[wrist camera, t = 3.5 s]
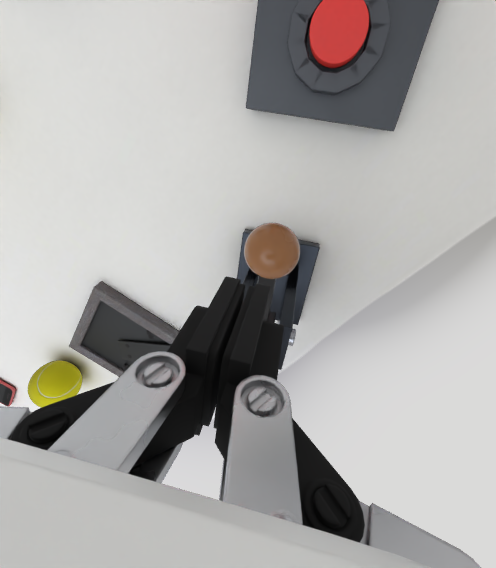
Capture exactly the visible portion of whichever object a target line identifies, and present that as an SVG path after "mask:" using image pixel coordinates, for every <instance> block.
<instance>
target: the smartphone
mask: <svg viewBox="0 0 496 568" xmlns="http://www.w3.org/2000/svg"><path fill="white" fill-rule="evenodd" d="M15 391H16V390H15V388H14V387H12V386H11V385H9V384H7V383H5V382H4V381H2V380H0V403H2V404H4V405H6V406H10V405H11V404H12V401H13V398H14V395H15Z"/></svg>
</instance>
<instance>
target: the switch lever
mask: <svg viewBox="0 0 496 568" xmlns="http://www.w3.org/2000/svg"><path fill="white" fill-rule="evenodd" d="M244 256H245V260H246V262H247V264H248V266H249V268H250V269H251V270H252V271H253V272H254V273H255V274H257V275H258V283H259V284H263V285H268V286H271V287H270V292H269V297H268V302H267V307H266V312H265V317H264V321H267V322H272V323H274V322H275V317H276V312H271V311H270V308H271V303H272V298H273V293H274V288H275V283H276V279H277V278H281V277H283V276H285V275H287V274H289V273H290V272H291V271H292V270H293V269H294V268H295V266H296V265H297V263H298V260H299V257H300V245H299V241H298V239H297V237H296V235H295V234H294V232H293V231H292V230H291V229H289V228H288V227H286V226H284V225H282V224H279V223H266V224H263V225H260V226H258V227H257V228H255V229H254V230H253V231H252V232H251V233H250V235H249V236H248V238H247V240H246V242H245V247H244Z"/></svg>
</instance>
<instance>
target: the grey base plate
mask: <svg viewBox="0 0 496 568" xmlns="http://www.w3.org/2000/svg"><path fill="white" fill-rule="evenodd" d="M322 1H323V0H258V6H257V15H256V24H255V32H254V41H253V50H252V59H251V68H250V76H249V85H248V94H247V103H246V108H247V109H252V110H258V111H265V112H271V113H277V114H284V115H290V116H297V117H303V118H309V119H316V120H322V121H329V122H335V123H341V124H348V125H354V126H361V127H367V128H373V129H380V130H386V131H394V129H395V126H396V124H397V121H398V118H399V115H400V112H401V109H402V106H403V103H404V100H405V97H406V94H407V92H408V89H409V86H410V83H411V80H412V77H413V74H414V71H415V68H416V65H417V62H418V60H419V57H420V54H421V51H422V48H423V45H424V42H425V39H426V36H427V33H428V30H429V28H430V25H431V22H432V19H433V16H434V13H435V10H436V7H437V4H438V1H439V0H364V2H365V3H366V6H367V9H368V13H369V28H368V32H367V35H366V38H365V40H364V43H363V44H362V46H361V48H360V49H359V51H358V53H357V54H356V55H355V57H354V58H353V59H352V60H351V61H349V62H348V63H347V64H345V65H343V66H341V67H337V68H328V67H325V66H323V65H321V64H320V63H318V62H317V60H316V59H315V58H314V56H313V54H312V51H311V47H310V36H309V32H310V24H311V20H312V17H313V15H314V12H315V10H316V9H317V7H318V6H319V4H320V3H321V2H322Z"/></svg>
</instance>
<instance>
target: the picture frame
mask: <svg viewBox="0 0 496 568" xmlns="http://www.w3.org/2000/svg"><path fill="white" fill-rule="evenodd" d="M178 333H179V331H178V330H176V329H175V328H173V327H172V326H170V325H169V324H167V323H165V322H164V321H162V320H161V319H159V318H158V317H156V316H155V315H153V314H151V313H150V312H148V311H147V310H145V309H144V308H142V307H141V306H139V305H137V304H136V303H134V302H133V301H131V300H130V299H128V298H127V297H125V296H123V295H122V294H120V293H119V292H117V291H116V290H114V289H113V288H111V287H110V286H108V285H106V284H105V283H103V282H100V283H99V284H97V285H96V286H95V287H94V288H93V290H92V293H91V295H90V298H89V300H88V302H87V305H86V307H85V309H84V312H83V314H82V317H81V319H80V321H79V324H78V326H77V328H76V331H75V333H74V336H73V338H72V340H71V343H70V345H69V347H71V348H72V349H74V350H76V351H77V352H79V353H81V354H82V355H84V356H86V357H87V358H89V359H91V360H92V361H94V362H96V363H97V364H99V365H101V366H102V367H104V368H106V369H107V370H109V371H111V372H112V373H114V374H116V375H117V376H119V377H120V376H121V375H122V374H123V373H124V372H125V371H126V370H127V369H128V368H129V367H130V366H131V365H132V364H133V363H134V362H135V361H136V360H138V359H139V358H140V357H142V356H144V355H146V354H148V353H153V352H167V351H168V349H169V348H170V346H171V344H172V343H173V341H174V340H175V338H176V336H177V335H178Z"/></svg>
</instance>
